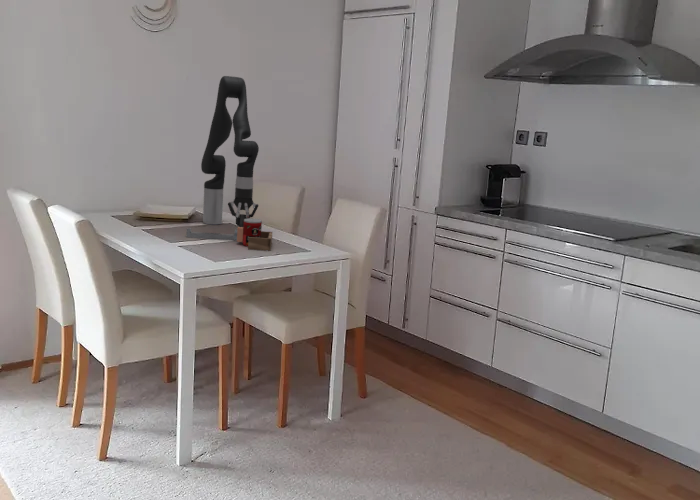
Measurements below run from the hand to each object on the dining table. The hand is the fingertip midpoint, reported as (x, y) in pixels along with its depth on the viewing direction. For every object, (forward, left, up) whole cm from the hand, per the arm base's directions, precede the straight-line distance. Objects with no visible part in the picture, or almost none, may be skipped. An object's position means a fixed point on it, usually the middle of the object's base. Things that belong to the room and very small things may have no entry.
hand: (242, 225), depth 292 cm
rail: (0, -9, -6) cm, 11 cm away
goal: (+10, +9, -6) cm, 15 cm away
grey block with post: (+4, 0, -6) cm, 7 cm away
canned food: (+9, +5, -7) cm, 12 cm away
